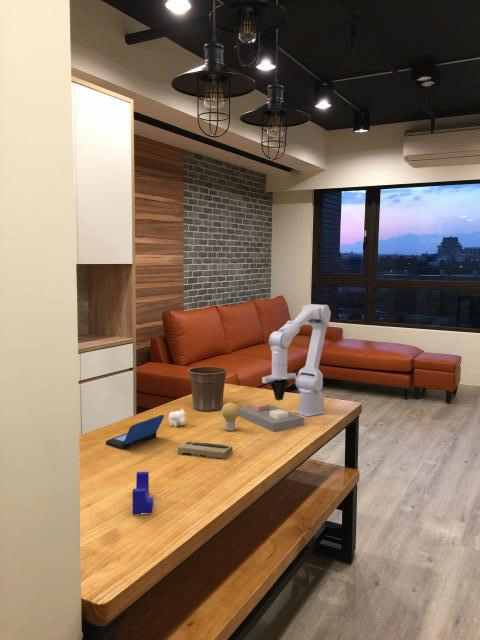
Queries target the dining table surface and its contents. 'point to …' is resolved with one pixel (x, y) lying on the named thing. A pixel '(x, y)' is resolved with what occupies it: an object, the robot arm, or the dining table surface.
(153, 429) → the handheld game console
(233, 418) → the light bulb
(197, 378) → the plant pot
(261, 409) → the terracotta key
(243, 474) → the dining table surface
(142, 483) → the blue stepped block
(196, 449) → the computer
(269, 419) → the key console
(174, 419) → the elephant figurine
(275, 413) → the white key
